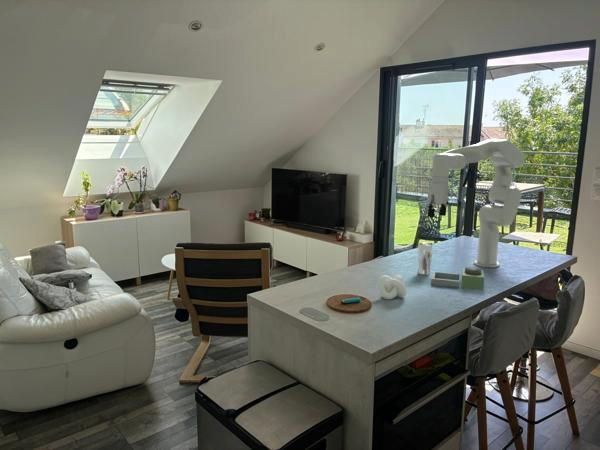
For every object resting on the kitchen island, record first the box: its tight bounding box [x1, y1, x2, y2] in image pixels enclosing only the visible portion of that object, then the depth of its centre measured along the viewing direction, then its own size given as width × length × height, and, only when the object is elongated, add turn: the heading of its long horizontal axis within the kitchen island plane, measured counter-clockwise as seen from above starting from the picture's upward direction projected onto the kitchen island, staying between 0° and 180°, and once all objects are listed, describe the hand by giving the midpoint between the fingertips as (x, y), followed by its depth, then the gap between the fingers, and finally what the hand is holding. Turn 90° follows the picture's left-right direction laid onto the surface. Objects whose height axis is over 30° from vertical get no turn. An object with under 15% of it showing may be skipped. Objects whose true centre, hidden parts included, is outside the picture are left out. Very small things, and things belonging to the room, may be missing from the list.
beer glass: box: [417, 242, 434, 276], centre depth 229 cm, size 7×7×15 cm
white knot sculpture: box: [377, 274, 408, 300], centre depth 196 cm, size 11×12×9 cm
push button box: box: [431, 266, 485, 291], centre depth 214 cm, size 12×22×8 cm, turn 71°
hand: (436, 216), depth 222 cm, fingers open, 9 cm apart
